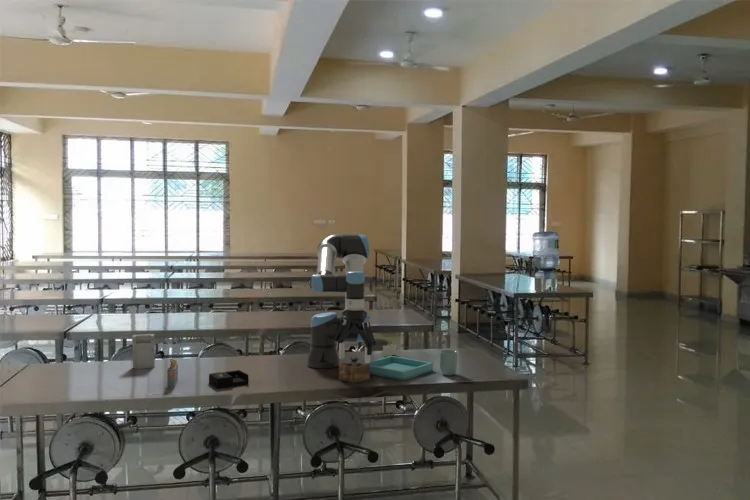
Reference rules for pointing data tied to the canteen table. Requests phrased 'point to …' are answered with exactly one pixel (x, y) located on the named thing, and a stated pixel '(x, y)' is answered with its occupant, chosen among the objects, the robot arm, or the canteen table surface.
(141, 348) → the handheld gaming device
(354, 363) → the stake
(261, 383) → the canteen table surface
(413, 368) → the tray
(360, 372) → the wooden box
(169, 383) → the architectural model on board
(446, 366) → the cup
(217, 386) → the battery charger
